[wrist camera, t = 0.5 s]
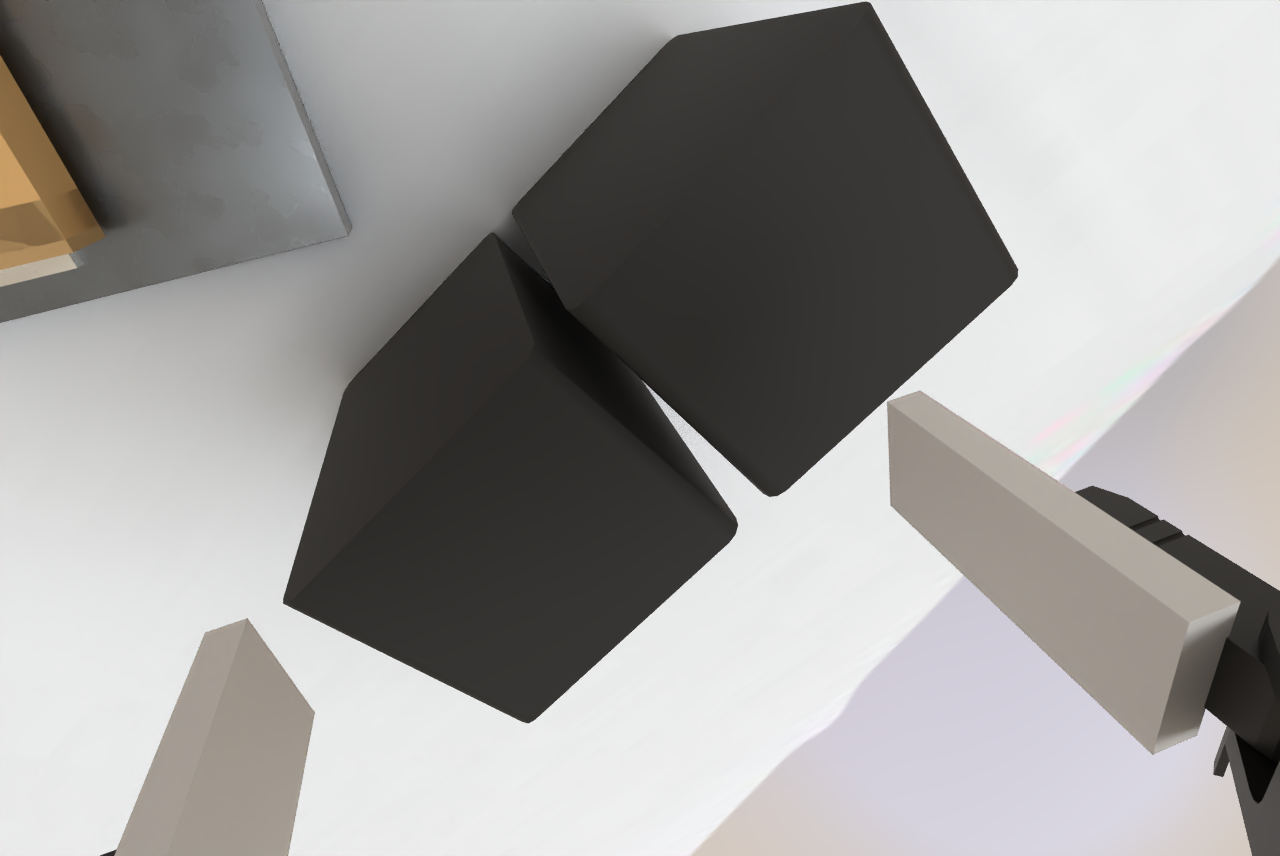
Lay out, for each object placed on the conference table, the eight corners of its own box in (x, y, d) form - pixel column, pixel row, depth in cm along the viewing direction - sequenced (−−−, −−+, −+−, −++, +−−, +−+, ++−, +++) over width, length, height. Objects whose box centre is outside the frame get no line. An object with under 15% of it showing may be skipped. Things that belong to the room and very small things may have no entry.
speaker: (493, 489, 43) (528, 734, 27) (345, 385, 38) (279, 613, 22) (789, 196, 39) (1032, 276, 23) (672, 36, 34) (880, -2, 18)
